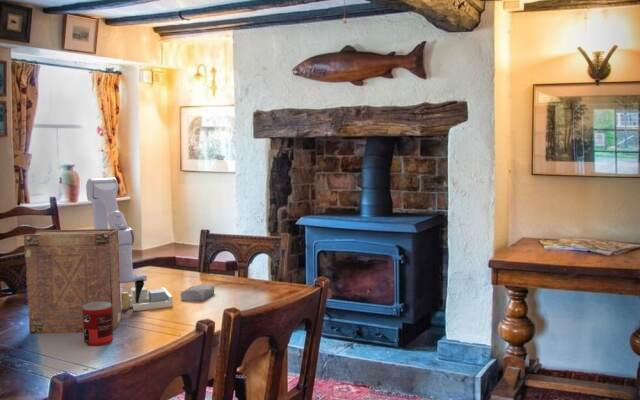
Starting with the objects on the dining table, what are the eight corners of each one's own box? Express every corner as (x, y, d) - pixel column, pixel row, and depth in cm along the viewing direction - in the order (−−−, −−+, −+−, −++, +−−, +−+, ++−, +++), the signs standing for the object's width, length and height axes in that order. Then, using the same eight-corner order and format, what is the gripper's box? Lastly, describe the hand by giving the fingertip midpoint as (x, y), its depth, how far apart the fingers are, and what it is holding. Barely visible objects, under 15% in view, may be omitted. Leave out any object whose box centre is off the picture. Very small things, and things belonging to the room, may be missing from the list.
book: (28, 333, 199) (22, 234, 196) (40, 324, 208) (35, 230, 205) (113, 331, 200) (108, 233, 197) (121, 322, 209) (117, 228, 206)
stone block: (179, 305, 237) (205, 301, 235) (176, 292, 237) (202, 287, 235) (192, 298, 248) (217, 294, 246) (189, 286, 248) (214, 281, 246)
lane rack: (127, 300, 237) (127, 291, 237) (164, 296, 242) (164, 287, 242) (133, 310, 223) (133, 300, 223) (172, 306, 228) (172, 296, 228)
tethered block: (121, 307, 228) (120, 291, 227) (163, 302, 233) (162, 287, 233) (123, 310, 223) (122, 294, 223) (166, 306, 229) (165, 290, 228)
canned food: (88, 338, 193) (86, 301, 192) (116, 337, 194) (114, 300, 193) (80, 347, 186) (78, 308, 184) (110, 345, 186) (108, 307, 185)
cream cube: (131, 301, 236) (130, 287, 236) (145, 300, 238) (145, 286, 238) (133, 304, 232) (132, 290, 231) (148, 303, 233) (147, 289, 233)
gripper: (102, 268, 218) (104, 309, 219) (147, 264, 224) (149, 303, 225) (100, 264, 224) (102, 304, 226) (144, 261, 230) (145, 299, 231)
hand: (125, 303), depth 226 cm, fingers open, 7 cm apart
